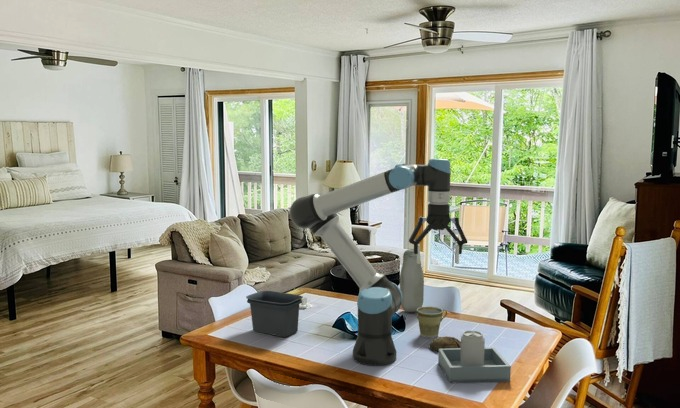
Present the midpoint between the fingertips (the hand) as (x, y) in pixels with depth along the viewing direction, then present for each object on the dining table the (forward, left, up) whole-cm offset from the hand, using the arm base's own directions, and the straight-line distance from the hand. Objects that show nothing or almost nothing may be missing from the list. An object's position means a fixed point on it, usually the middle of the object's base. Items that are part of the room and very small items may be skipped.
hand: (437, 263), depth 195 cm
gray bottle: (-1, +47, -32) cm, 57 cm away
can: (+7, -20, -31) cm, 37 cm away
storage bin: (-59, +24, -32) cm, 71 cm away
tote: (+8, -20, -32) cm, 38 cm away
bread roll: (+5, +1, -32) cm, 33 cm away
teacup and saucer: (-51, +57, -33) cm, 84 cm away
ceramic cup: (+2, +16, -32) cm, 36 cm away
